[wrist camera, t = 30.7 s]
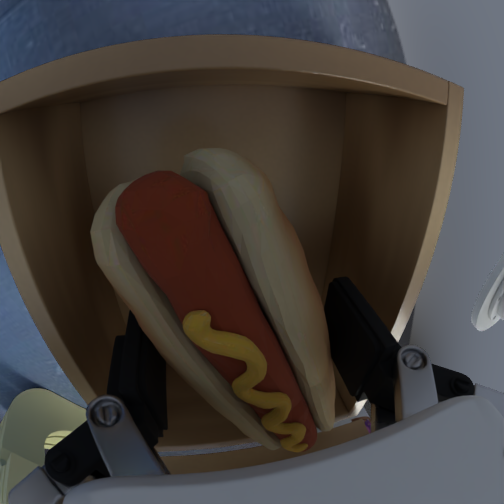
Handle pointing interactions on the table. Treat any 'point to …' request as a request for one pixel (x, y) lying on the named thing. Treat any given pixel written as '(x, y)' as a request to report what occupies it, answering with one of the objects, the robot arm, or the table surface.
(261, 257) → the food
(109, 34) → the table surface
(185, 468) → the lid
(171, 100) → the box
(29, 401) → the slatted curved stool
